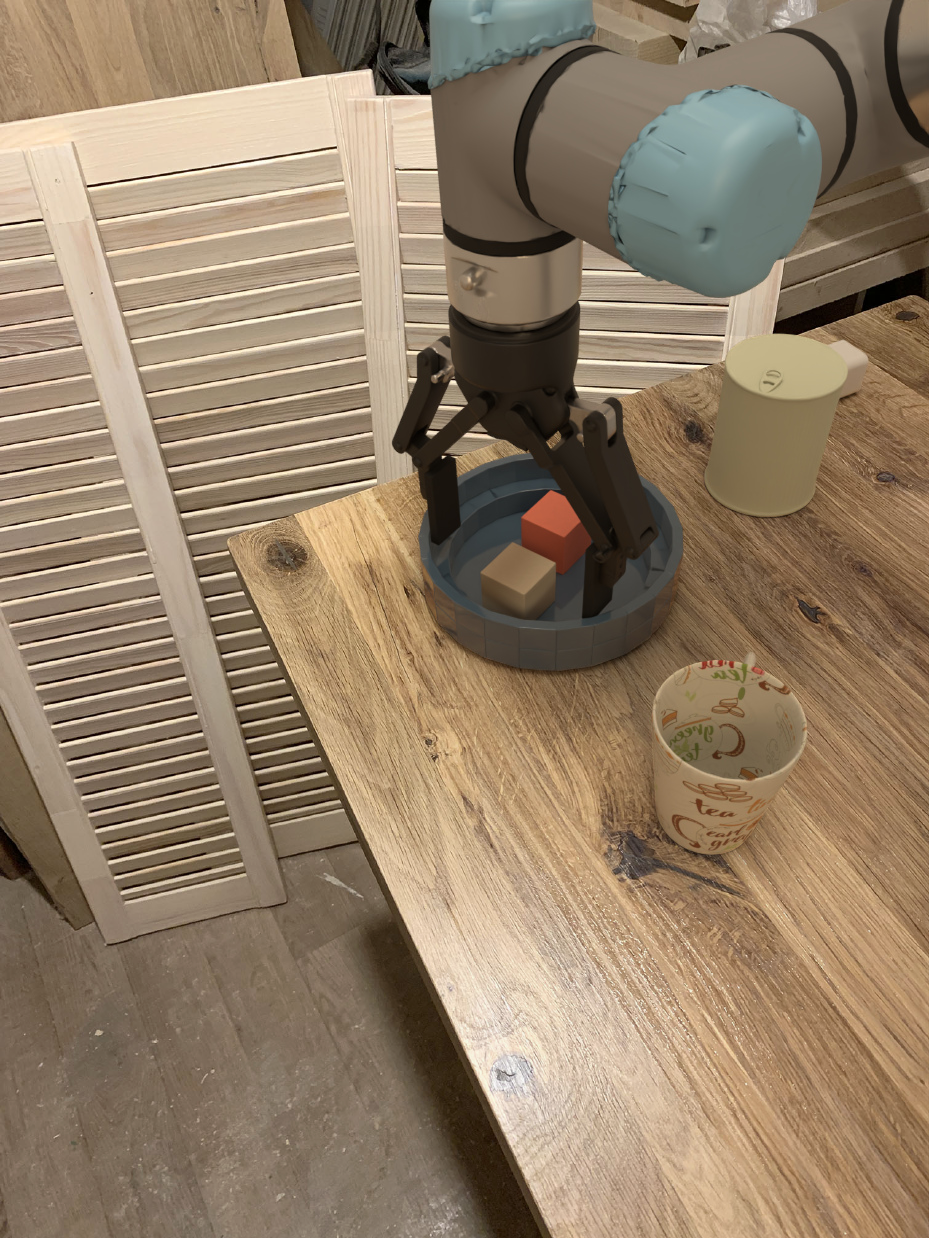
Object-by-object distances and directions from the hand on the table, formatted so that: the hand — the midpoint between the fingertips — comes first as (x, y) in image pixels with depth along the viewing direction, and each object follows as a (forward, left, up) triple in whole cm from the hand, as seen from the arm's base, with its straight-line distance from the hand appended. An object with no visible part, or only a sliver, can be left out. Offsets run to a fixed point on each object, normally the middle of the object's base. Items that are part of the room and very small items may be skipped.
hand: (518, 570), depth 68 cm
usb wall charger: (-7, -39, -4) cm, 40 cm away
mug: (-19, +5, -4) cm, 20 cm away
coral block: (+1, -6, -4) cm, 7 cm away
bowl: (0, -4, -4) cm, 6 cm away
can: (-8, -24, -4) cm, 26 cm away
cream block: (0, 0, -4) cm, 4 cm away
